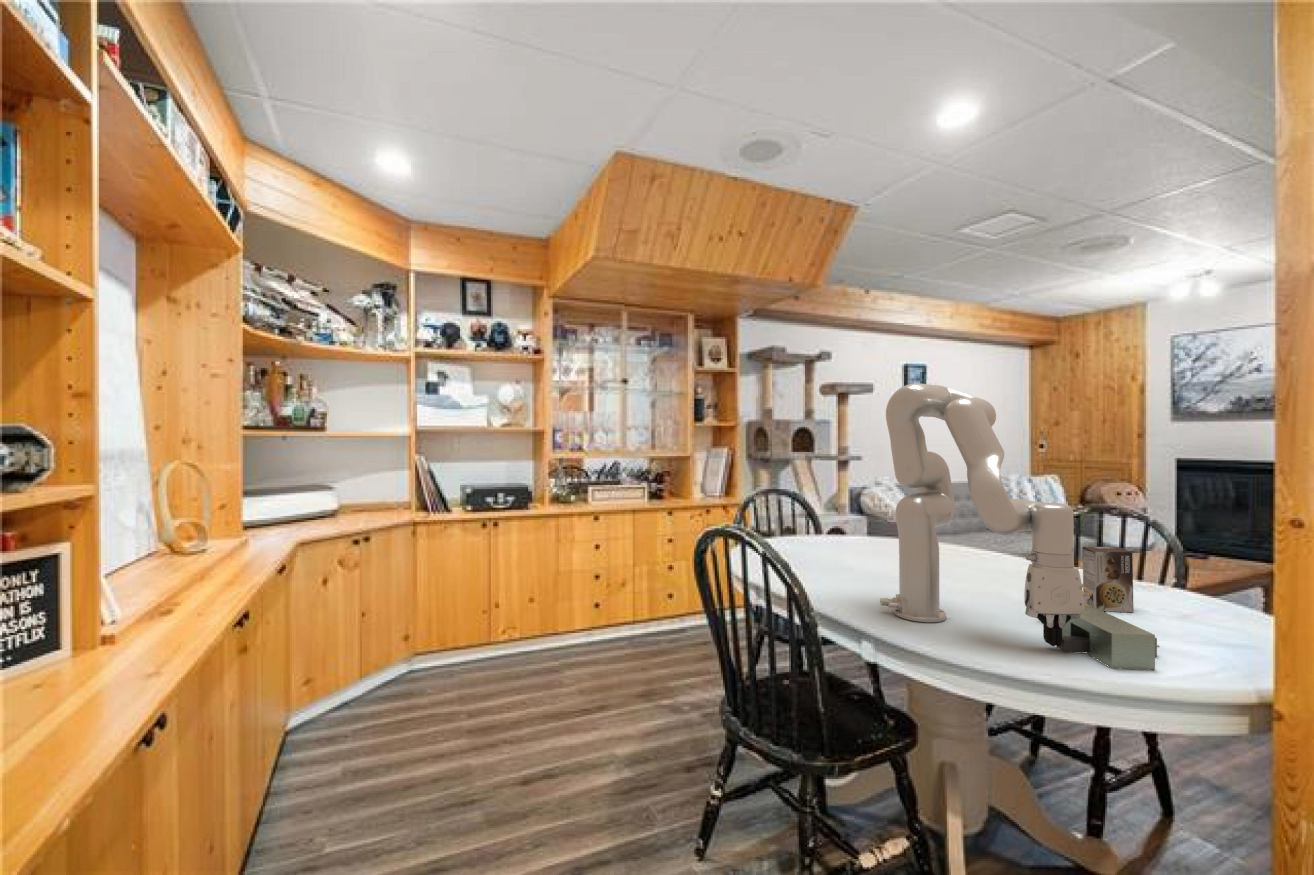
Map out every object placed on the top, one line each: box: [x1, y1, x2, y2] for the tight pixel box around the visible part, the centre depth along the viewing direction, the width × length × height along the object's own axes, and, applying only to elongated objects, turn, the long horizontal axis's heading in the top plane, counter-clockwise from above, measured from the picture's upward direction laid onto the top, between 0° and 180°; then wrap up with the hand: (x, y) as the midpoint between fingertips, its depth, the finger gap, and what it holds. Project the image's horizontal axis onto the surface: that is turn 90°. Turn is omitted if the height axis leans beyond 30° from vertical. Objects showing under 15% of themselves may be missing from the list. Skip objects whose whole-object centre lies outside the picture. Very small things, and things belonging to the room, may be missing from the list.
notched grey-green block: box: [1062, 605, 1156, 670], centre depth 124 cm, size 8×20×7 cm, turn 174°
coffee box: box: [1082, 546, 1135, 613], centre depth 154 cm, size 9×6×16 cm
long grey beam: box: [1056, 636, 1160, 658], centre depth 124 cm, size 18×4×4 cm, turn 82°
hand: (1052, 643), depth 125 cm, fingers closed
